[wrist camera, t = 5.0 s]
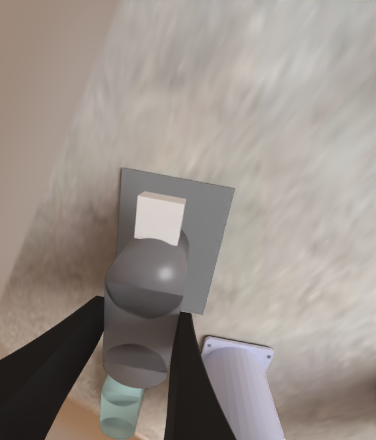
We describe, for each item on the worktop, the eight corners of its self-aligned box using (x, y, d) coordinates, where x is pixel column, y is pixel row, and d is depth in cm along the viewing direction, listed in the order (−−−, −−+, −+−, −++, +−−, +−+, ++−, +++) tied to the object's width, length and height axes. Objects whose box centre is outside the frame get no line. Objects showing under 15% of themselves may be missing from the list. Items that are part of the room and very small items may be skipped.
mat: (202, 311, 21) (202, 314, 21) (114, 295, 21) (113, 297, 21) (234, 188, 17) (234, 188, 16) (123, 167, 17) (122, 167, 16)
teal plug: (120, 336, 23) (102, 376, 19) (152, 342, 23) (141, 384, 19) (114, 400, 27) (98, 446, 22) (142, 406, 27) (131, 453, 22)
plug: (173, 331, 16) (163, 393, 12) (127, 322, 16) (102, 382, 12) (200, 195, 12) (199, 217, 8) (139, 183, 12) (106, 200, 8)
